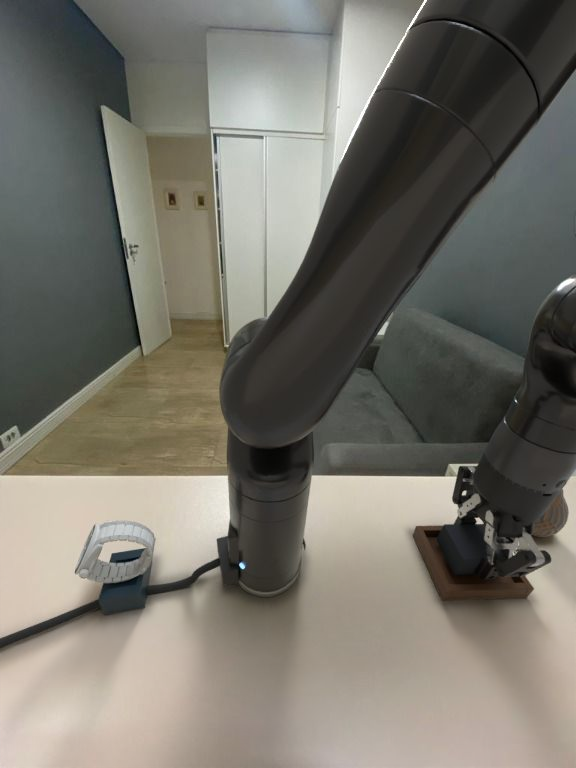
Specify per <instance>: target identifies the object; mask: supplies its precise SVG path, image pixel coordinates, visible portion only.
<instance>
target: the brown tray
mask: <svg viewBox="0 0 576 768" xmlns="http://www.w3.org/2000/svg"><path fill="white" fill-rule="evenodd" d="M442 527H443V525H415V528H414V530H413V533H412V536H413V539H414V541H415V543H416V545H417V548H418V550H419V552H420V554H421V557H422V559H423V561H424V563H425V566H426V568H427V570H428V572H429V575H430V578H431V580H432V581H433V584H434V586H435V588H436V590H437V593H438V595H439V597H440V600H441V601H454V600H455V601H459V600H462V601H463V600H489V599H492V600H493V599H518V598H519V599H522V598H523V599H525V598H528V597H529V596H530V595H531V593H533V591H534V590H535V588H534V586H533V585H532V584H531V582H530V581H529V579H528V578H527V575H525V576H523V577H500V576H499V575H498V576H497V577H496V579H484V580H483V579H482V578H477V577H476V575H454V573H453V571H452V569H451V567H450V565H449V563H448V561H447V559H446V557H445V555H444V553H443V551H442V550H441V548H440V546H439V544H438V542H437V538H438V536H439V534H440V532H441V530H442Z"/></svg>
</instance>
